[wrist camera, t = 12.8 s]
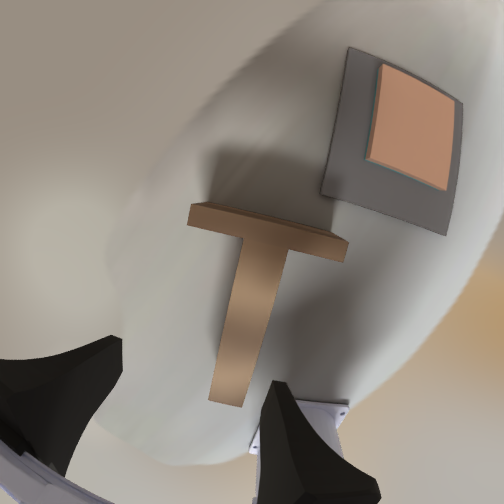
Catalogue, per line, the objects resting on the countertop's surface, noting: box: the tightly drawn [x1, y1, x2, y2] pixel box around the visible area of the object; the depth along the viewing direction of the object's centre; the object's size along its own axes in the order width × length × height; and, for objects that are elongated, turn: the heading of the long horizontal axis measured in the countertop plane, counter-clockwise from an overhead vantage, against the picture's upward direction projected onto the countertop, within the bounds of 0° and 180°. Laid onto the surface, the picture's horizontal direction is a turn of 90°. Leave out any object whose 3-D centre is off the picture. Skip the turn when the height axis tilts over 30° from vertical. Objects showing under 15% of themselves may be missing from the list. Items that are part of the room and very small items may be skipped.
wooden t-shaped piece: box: [187, 202, 349, 408], centre depth 18 cm, size 13×9×4 cm
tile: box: [364, 64, 454, 191], centre depth 16 cm, size 1×7×8 cm
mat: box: [320, 47, 463, 236], centre depth 17 cm, size 12×12×1 cm
